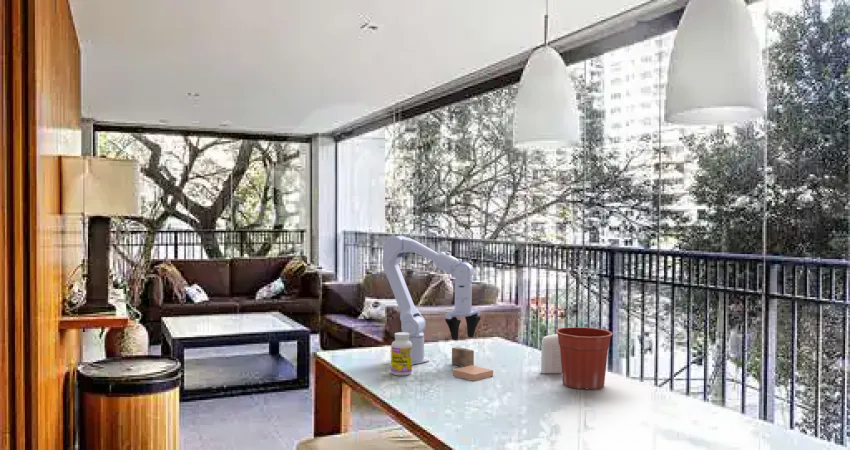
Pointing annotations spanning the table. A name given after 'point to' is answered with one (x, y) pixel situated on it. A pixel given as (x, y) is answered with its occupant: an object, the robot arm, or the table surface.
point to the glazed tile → (472, 372)
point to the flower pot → (583, 356)
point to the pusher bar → (462, 357)
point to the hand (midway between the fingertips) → (462, 338)
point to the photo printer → (551, 355)
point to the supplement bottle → (401, 354)
